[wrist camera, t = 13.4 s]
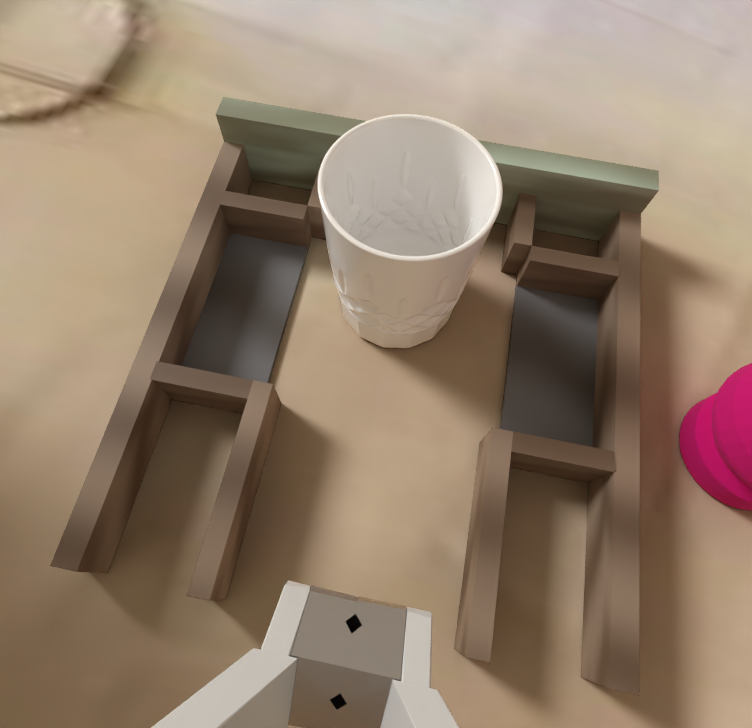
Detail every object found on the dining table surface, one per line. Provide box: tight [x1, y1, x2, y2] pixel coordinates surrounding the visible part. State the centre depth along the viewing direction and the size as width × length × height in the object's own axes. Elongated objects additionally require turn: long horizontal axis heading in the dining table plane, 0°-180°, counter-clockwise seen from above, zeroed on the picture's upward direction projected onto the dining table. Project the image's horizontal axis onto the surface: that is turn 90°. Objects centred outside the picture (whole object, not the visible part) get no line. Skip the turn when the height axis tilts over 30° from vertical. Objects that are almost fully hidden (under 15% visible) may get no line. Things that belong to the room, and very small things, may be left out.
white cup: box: [318, 114, 503, 348], centre depth 27 cm, size 8×8×10 cm
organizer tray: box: [50, 97, 659, 696], centre depth 27 cm, size 26×25×5 cm
